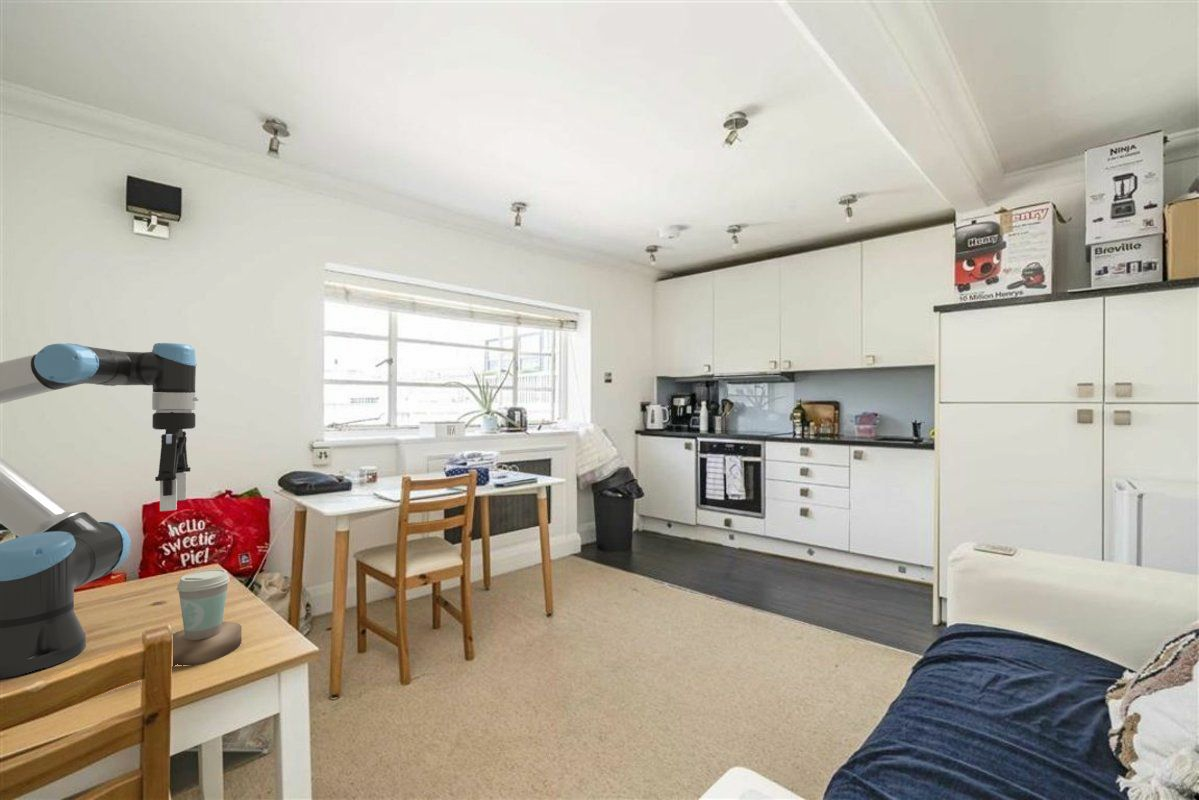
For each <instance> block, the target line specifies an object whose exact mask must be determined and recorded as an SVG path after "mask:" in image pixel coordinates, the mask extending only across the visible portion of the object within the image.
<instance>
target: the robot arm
mask: <svg viewBox="0 0 1199 800" xmlns="http://www.w3.org/2000/svg"><path fill="white" fill-rule="evenodd" d="M196 362H197V360H196V350H195V348H194V347H193V346H192V345H190V344H184V343H175V342H158V343H157V342H156V343H154V344H153V346H152V350H151V351H146V352H145V351H141V352H140V351H139V352H138V351H121V350H115V349H108V348H107V349H106V348H101V347H100V348H99V347H92V346H85V345H81V344H77V343H52V344H48V345H45V346H43V348H42V349H40V350H39V351H38V352H37V353H36V354H35V353H34V354H32V355H28V356H22V357H18V358H14V359H10V360H5V361H0V405H1V404H5V403H9V402H13V401H17V400H21V399H24V398H29V397H33V396H36V395H37V396H38V395H40V394H45V393H49V392H53V391H56V390H60V389H66V388H70V387H74V386H77V385H83V384H86V385H87V384H89V385H90V384H91V385H98V386H110V387H115V386H152V393H151V394H152V396H151V397H152V398H151V399H152V400H151V401H152V403H151V404H152V405H151V409H152V410H153V411H155V412H154V413H153V414H152V424H151V425H152V429H154V430H161V431H162V430H165V431H164V432H165V433H164V434H161V436H160V438H161V441H160V443H161V446H160V457H159V465H158V466H159V467H158V474H157V476H155V482H159V512H169V511H176V510H177V509H178V508H177V507H178V505H177V503H178V501H186V500H187V475H188V473H189V472H191V466H189V464H188V456H187V452H188V451H187V441H188V439H187V432H186V431H183V430H191V429H195V428H196V413H195V412H192V411H194V410H196V402H198V401H199V397H197V396H196V377H197V376H196V370H197V369H196V367H197V363H196ZM187 472H188V473H187ZM0 524H1V525H2V526H3V527H5V528H6V529H8V530H9V531H10V532H12V533H13V534H15V535H16V536H17V537H15V538H12V539H11V538H10V539H9V540H6V541H4V542H1V543H0V679H2V680H3V679H8V678H12V677H17V676H23V675H26V674H25V673H27V674H30V673H29V672H31V673H33V672H32V671H34V672H36V671H35V670H38V669H41V670H43V669H42V668H45V669H47V668H50V667H53V666H56V665H58V664H61V663H63V662H65V661H68V660H70V659H73V658H74V657H75V656H78V655H79V654H81V653H82V652H83V651H84V650H85V649H86V647H87V635H86V633H85V630H84V629H83V627H82V625H81V623H80V621H79V618H78V616H77V615H76V612H75V589H76V588H79V587H81V586H83V585H86V584H88V583H90V582H93V581H95V580H97V579H101V578H103V577H105V576H107V575H109V574H110V573H112V572H113V571H114V570H116V569H118V568H120V567H121V566H122V565H123V564H124V563H125V561H126V560H127V558H128V557H129V554H130V552H131V545H132V541H131V538H130V535H129V533H128V531H127V530H126V529H125V528H124V527H123V526H122V525H120V524H118V523H115V522H111V521H97V519H95V518H94V517H93V516H91V515H90V514H89V513H88V512H86V511H83V510H81V511H77V510H76V511H71V510H70V509H68V508H67V507H65V506H64V505H63V504H61V502H59V501H58V500H57V499H56V498H54V497H53V496H51V495H50V494H49V493H47V492H46V491H45V490H43V489H42V488H41V487H40V486H39V485H37V484H36V483H34V481H32V480H31V479H29V478H28V477H27V476H25V475H24V474H23V473H21V472H20V471H19V470H18V469H16V468H15V467H14V466H13V465H12V464H10V463H9V462H8V461H6V460H5V459H4V458H3V457H2V456H0ZM38 671H39V670H38ZM22 674H23V675H22Z"/></svg>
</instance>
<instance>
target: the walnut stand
mask: <svg viewBox="0 0 1199 800" xmlns="http://www.w3.org/2000/svg"><path fill="white" fill-rule="evenodd" d="M172 634H173V667H172V668H175V667H174V666H175V665H177V664H178V665H182V666H183V665H192V666H196V665H195V664H197V665H201V664H200V663H202V664H205V662H206V663H209V662H211V661H215V660H217V659H220V658H223V657H225V656H227V655H229V654H231V653H232V652H234V651H235V649H236V650H237V649H238V648H239V647H240V646H241V645H242V634H243V633H242V625H241V624H240V623H238V622H234V621H223V622H222V629H221V631H220V632H219V633H218V634H216V635H214V636H212V637H209V638H205V639H200V640H187V639H186V638H185V633H184V629H181V630H179V631H176V632H174V633H172ZM240 644H241V645H240Z"/></svg>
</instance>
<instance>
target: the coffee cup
mask: <svg viewBox="0 0 1199 800" xmlns="http://www.w3.org/2000/svg"><path fill="white" fill-rule="evenodd" d="M227 571H228V570H226V569H223V568H214V569H211V568H210V569H203V570H199V571H194V572H190V573H186V574H185V575H183V576H181V577H180V579H179V582H178V584H177V587H176V590H177V591H178V594H179V603H180V610H181V617H182V624H183V626H182V627H183V630H184V633H185V638H186V639H187V640H200V639H205V638H209V637H212V636H214V635H216V634H218V633H219V632H220V631H221V629H222V622H224V621H223V620H224V614H225V607H226V600H227V592H228V585H229V582H230V581H231V579H230V575H229V574H228V572H227Z"/></svg>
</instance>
